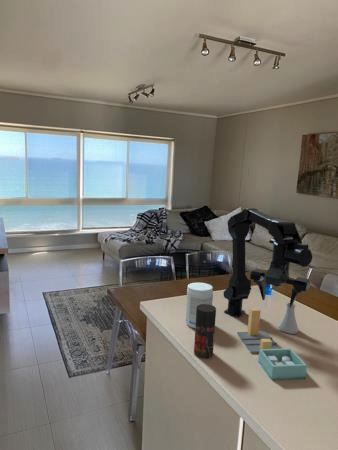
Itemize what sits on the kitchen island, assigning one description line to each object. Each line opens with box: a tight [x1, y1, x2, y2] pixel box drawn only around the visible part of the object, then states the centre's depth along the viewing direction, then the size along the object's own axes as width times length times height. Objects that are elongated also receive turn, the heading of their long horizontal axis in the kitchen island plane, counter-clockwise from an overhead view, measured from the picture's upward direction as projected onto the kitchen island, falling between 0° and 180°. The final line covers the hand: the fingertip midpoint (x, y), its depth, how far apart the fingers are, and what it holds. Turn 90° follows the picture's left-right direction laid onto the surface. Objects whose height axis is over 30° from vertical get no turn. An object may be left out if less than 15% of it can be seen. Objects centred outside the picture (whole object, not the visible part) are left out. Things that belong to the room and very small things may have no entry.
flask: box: [278, 302, 300, 335], centre depth 121 cm, size 7×7×10 cm
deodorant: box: [193, 304, 217, 360], centre depth 102 cm, size 6×6×15 cm
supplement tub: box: [185, 282, 214, 329], centre depth 122 cm, size 10×10×15 cm
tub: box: [257, 348, 308, 381], centre depth 96 cm, size 9×10×4 cm
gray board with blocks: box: [236, 307, 282, 354], centre depth 111 cm, size 13×11×10 cm
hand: (276, 303), depth 112 cm, fingers open, 9 cm apart
